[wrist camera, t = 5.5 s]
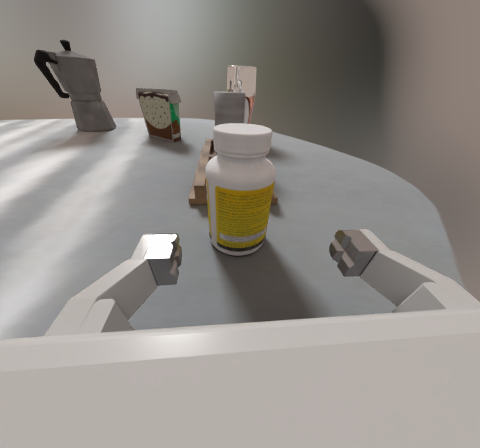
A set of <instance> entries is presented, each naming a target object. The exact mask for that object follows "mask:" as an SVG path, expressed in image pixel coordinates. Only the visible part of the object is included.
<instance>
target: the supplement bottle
mask: <svg viewBox="0 0 480 448" xmlns="http://www.w3.org/2000/svg"><path fill="white" fill-rule="evenodd" d="M271 138H272V131H271V129H269V128H267V127H264V126H260V125H254V124H244V123H228V124H220V125H217V126H215V127H214V128H213V142H214V150H215V151H216V152H217V156H215V157H213V158H212V159H210V160H209V162H208V163H207V165H206V169H205V176H206V189H207V204H208V219H209V234H210V240H211V242H212V244H213V245H214V247H216V248H217V249H218V250H219V251H221V252H223V253H226V254H229V255H235V256H241V255H247V254H250V253H253V252H255V251H256V250H258V249H259V248H260V247H261V246H262V244H263V242H264V239H265V235H266V230H267V224H268V218H269V212H270V206H271V200H272V194H273V189H274V182H275V168H274V166H273V164H272V163H271V162H270V161H269V160H268V159H266V158H265V156H266V155H267V154H268V153H269V149H270V147H271Z"/></svg>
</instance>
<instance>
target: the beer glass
mask: <svg viewBox="0 0 480 448" xmlns="http://www.w3.org/2000/svg"><path fill="white" fill-rule="evenodd" d="M255 90H256V67H249V66H228V77H227V92H239V93H245V112H244V124H250V118H251V113H252V109H253V103H254V98H255Z"/></svg>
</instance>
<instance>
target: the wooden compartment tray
mask: <svg viewBox="0 0 480 448" xmlns="http://www.w3.org/2000/svg"><path fill="white" fill-rule="evenodd" d="M214 106H215V126H217V125H220V124H228V123H244V112H245V93H239V92H221V91H219V92H217V91H216V92H214ZM215 156H217V152H216V151H215V150H214V142H213V139H206V140H205V144H204V147H203V148H202V151H201V155H200V159H199V162H198V166H197V170H196V173H195V177H194V180H193V184H192V188H191V191H190V195H189V204H207V189H206V176H205V169H206V165H207V163H208V162H209V160H210V159H212V158H213V157H215ZM277 199H278V198H277V196H276V194H275V192H274V190H273V194H272V200H271V204H277Z"/></svg>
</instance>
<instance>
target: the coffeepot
mask: <svg viewBox="0 0 480 448" xmlns="http://www.w3.org/2000/svg"><path fill="white" fill-rule="evenodd" d="M60 42H61V44H62V46H63V47H64V49H65V51H61V52H57V53H53V52H46V51H44V50H37V51H36V53H35V57H34V62H35V64H36V65H37V67H38V68H39V69H40V71H41V72H42V73H43V75H44V76H45V77H46V78H47V80H48V81H49V83H50V84H51V85H52V87H53V88H54V89H55V91H56V92H57V93H58V95H59V96H60V97H61V98H69V95H70V98H71V100H72V101H71V106H72V110H73V113H74V117H75V121H76V125H77V128H78V129H79V130H81V131H88V132H97V131H107V130H112V129H115V127H116V125H115V123H114V121H113V119H112V117H111V115H110V113H109V111H108V109H107V107H106V105H105V103H104V102H103V101H102V99H101V96H100V92H101V88H100V83H99V78H98V73H97V68H96V63H95V60H94V59H91V58H88V57H86V56H83V55H80V54H78V53H75V52H72V51H71V48H70V44H69V42H68V41H66V40H61V41H60ZM46 62H49V64H50V66H51V68H52V69H53V71H54V73H55V74H56V76H57V77H58V79H59V81H60V83H61V85H62V86H63V88H64V90H65V91H66V92H68V93H69V94H68V93H67V94H66V93H63V92H62V90H61V88H60V86H59V84H58V82H57V81H56V80H55V79H54V77H53V76H52V74H51V73H50V70H49V69H48V67H47V66H46Z"/></svg>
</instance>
